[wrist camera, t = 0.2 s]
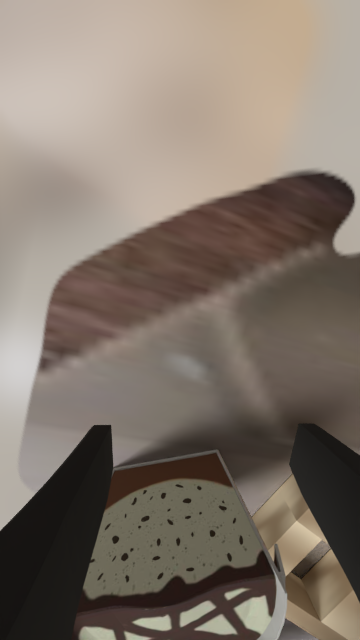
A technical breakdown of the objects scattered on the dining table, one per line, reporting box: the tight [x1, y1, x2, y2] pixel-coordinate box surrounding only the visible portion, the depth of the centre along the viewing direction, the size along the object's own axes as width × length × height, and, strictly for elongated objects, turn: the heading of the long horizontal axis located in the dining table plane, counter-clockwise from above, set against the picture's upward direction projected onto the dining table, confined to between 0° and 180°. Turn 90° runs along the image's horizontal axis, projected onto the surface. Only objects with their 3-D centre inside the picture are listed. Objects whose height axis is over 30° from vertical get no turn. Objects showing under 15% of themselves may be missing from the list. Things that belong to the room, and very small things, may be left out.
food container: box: [71, 449, 287, 640], centre depth 16 cm, size 12×6×10 cm, turn 98°
